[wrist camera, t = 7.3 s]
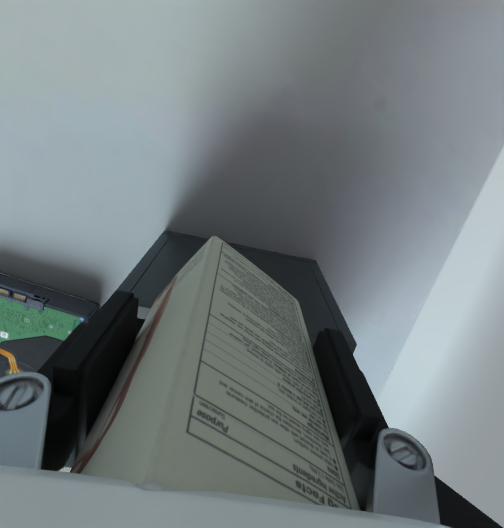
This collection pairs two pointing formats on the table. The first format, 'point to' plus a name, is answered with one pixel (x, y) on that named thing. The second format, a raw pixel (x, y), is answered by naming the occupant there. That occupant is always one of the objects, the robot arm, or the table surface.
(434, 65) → the table surface
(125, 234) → the table surface
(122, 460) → the cream medicine box
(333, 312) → the case
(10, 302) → the disk drive
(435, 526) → the robot arm
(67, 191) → the table surface
